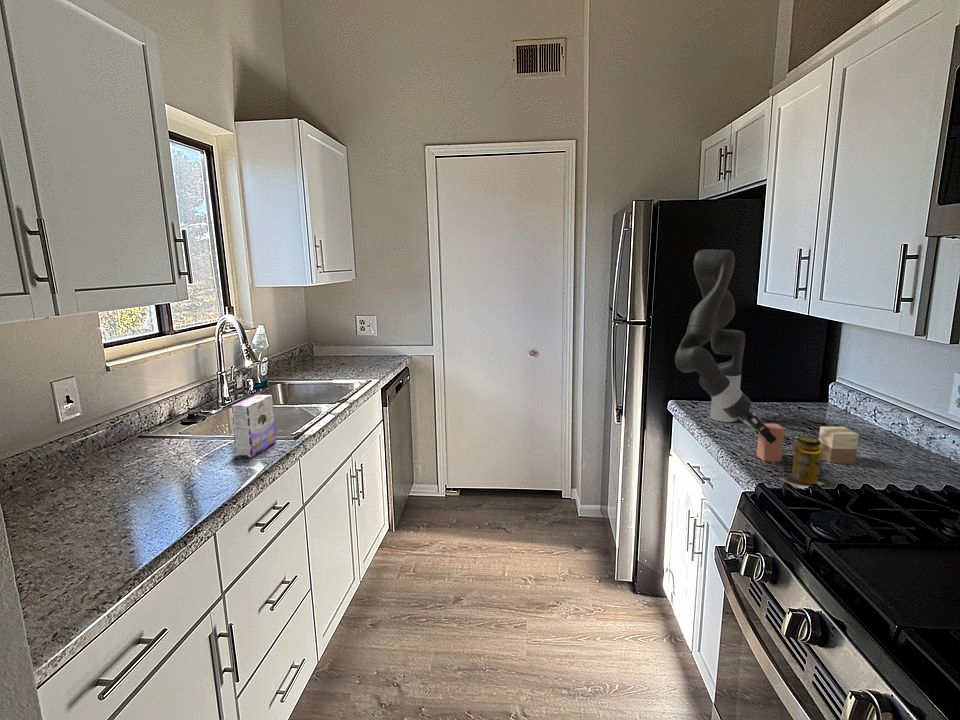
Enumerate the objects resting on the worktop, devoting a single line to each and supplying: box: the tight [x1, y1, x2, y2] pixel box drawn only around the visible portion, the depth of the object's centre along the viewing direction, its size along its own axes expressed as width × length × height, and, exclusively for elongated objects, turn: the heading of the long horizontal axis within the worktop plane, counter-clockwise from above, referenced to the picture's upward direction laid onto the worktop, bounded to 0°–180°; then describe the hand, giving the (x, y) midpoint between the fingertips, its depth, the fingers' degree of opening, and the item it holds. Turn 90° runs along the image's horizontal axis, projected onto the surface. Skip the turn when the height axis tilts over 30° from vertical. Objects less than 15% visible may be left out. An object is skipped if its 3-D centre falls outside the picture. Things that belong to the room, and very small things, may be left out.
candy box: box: [230, 394, 277, 458], centre depth 172 cm, size 14×6×16 cm, turn 168°
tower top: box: [818, 426, 860, 450], centre depth 160 cm, size 7×7×4 cm
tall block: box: [756, 422, 785, 462], centre depth 162 cm, size 5×5×10 cm
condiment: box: [778, 435, 826, 490], centre depth 144 cm, size 7×8×12 cm
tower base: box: [820, 442, 858, 465], centre depth 161 cm, size 7×7×4 cm
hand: (767, 436), depth 161 cm, fingers open, 8 cm apart
